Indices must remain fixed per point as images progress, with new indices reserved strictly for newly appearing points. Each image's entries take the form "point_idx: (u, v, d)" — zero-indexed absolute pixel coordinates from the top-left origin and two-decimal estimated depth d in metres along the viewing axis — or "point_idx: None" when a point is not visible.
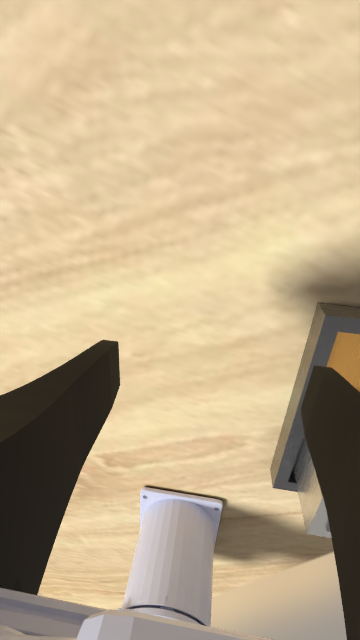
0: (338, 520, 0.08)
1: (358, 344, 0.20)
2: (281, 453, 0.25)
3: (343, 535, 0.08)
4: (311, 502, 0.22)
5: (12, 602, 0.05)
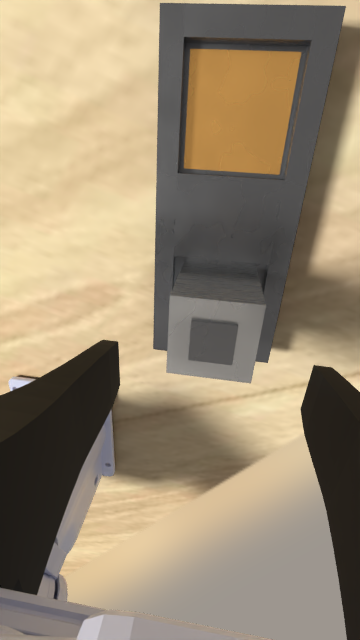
0: (338, 520, 0.08)
1: (224, 76, 0.14)
2: None
3: (343, 535, 0.08)
4: None
5: (12, 602, 0.05)
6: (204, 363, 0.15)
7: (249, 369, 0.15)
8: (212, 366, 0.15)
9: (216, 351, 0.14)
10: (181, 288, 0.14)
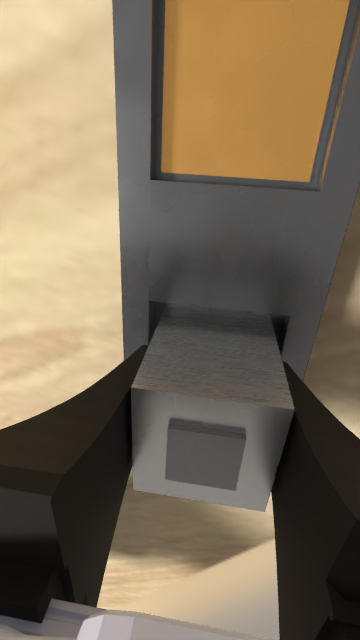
0: (279, 510, 0.09)
1: (224, 22, 0.08)
2: None
3: (281, 525, 0.08)
4: None
5: None
6: (191, 483, 0.09)
7: (263, 494, 0.09)
8: (203, 487, 0.09)
9: (209, 471, 0.09)
10: (153, 368, 0.09)
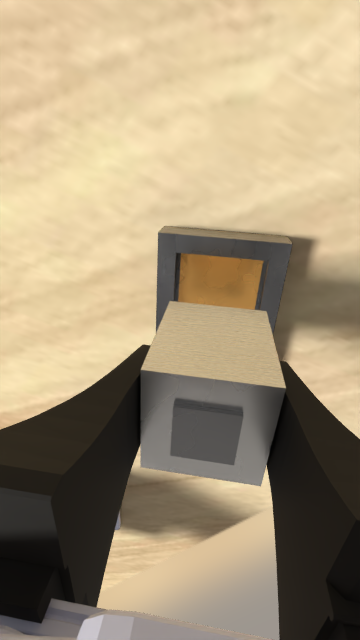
0: (279, 510, 0.09)
1: (207, 270, 0.18)
2: None
3: (281, 525, 0.08)
4: None
5: None
6: (194, 459, 0.10)
7: (259, 469, 0.10)
8: (205, 463, 0.10)
9: (210, 446, 0.10)
10: (160, 354, 0.10)
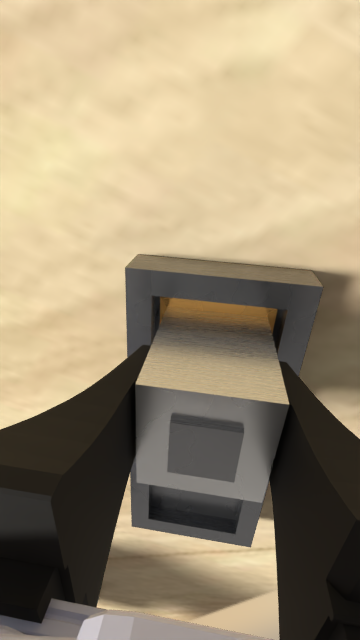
0: (279, 510, 0.09)
1: None
2: None
3: (281, 524, 0.08)
4: None
5: None
6: (192, 475, 0.10)
7: (260, 486, 0.10)
8: (204, 479, 0.10)
9: (209, 463, 0.09)
10: (156, 366, 0.09)
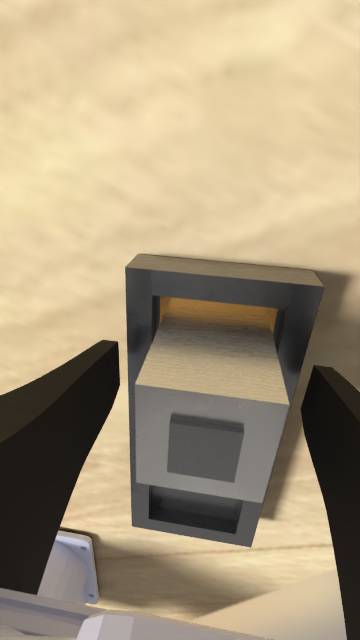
0: (338, 520, 0.08)
1: None
2: None
3: (343, 535, 0.08)
4: None
5: (12, 602, 0.05)
6: (192, 476, 0.10)
7: (260, 486, 0.10)
8: (203, 479, 0.10)
9: (209, 463, 0.09)
10: (156, 366, 0.09)
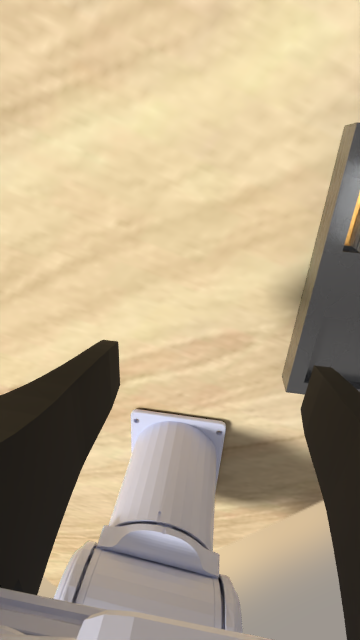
0: (338, 520, 0.08)
1: None
2: (296, 344, 0.21)
3: (343, 535, 0.08)
4: None
5: (12, 602, 0.05)
6: None
7: None
8: None
9: None
10: None
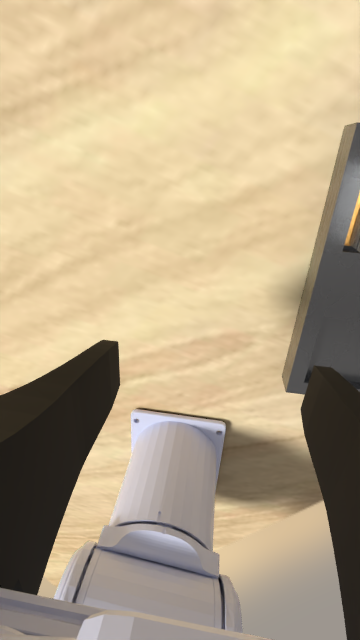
0: (338, 520, 0.08)
1: None
2: (296, 344, 0.21)
3: (343, 535, 0.08)
4: None
5: (12, 602, 0.05)
6: None
7: None
8: None
9: None
10: None
